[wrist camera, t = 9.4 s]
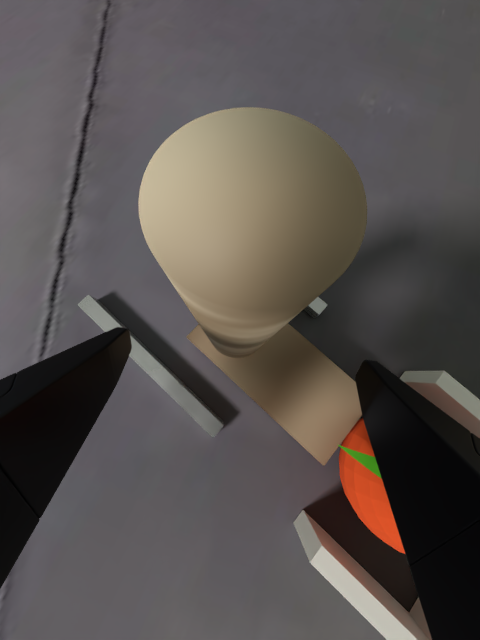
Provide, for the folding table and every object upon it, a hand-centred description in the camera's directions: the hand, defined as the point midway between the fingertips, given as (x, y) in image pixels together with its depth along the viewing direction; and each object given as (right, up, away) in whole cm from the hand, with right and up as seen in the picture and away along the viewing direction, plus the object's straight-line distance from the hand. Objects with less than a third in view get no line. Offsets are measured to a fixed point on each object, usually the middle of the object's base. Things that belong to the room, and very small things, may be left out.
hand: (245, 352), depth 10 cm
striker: (+2, -2, +8) cm, 9 cm away
